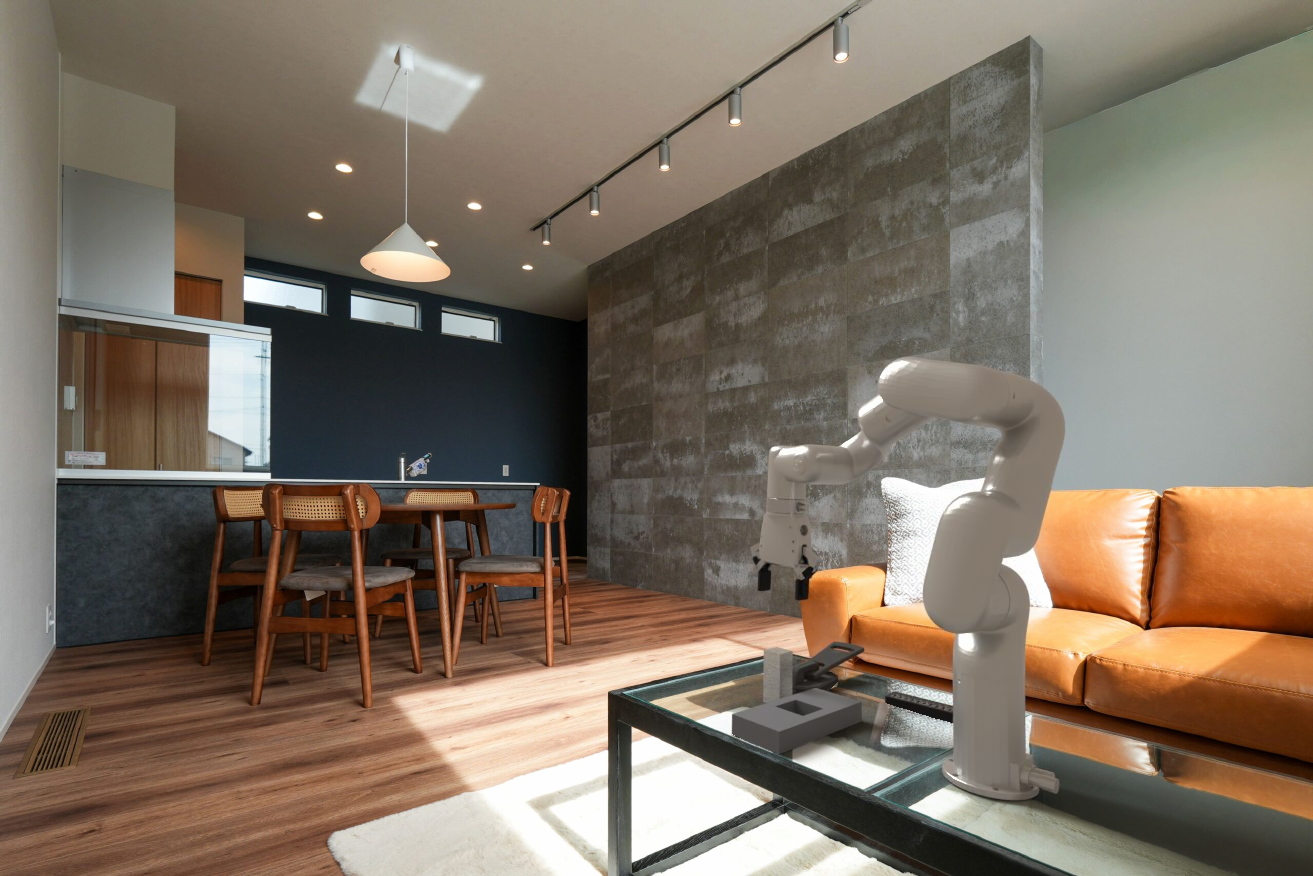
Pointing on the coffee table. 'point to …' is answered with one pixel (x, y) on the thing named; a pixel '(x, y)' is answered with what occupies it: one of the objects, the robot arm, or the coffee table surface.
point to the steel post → (777, 674)
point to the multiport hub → (921, 706)
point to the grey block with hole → (796, 719)
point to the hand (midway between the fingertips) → (782, 595)
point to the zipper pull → (828, 658)
